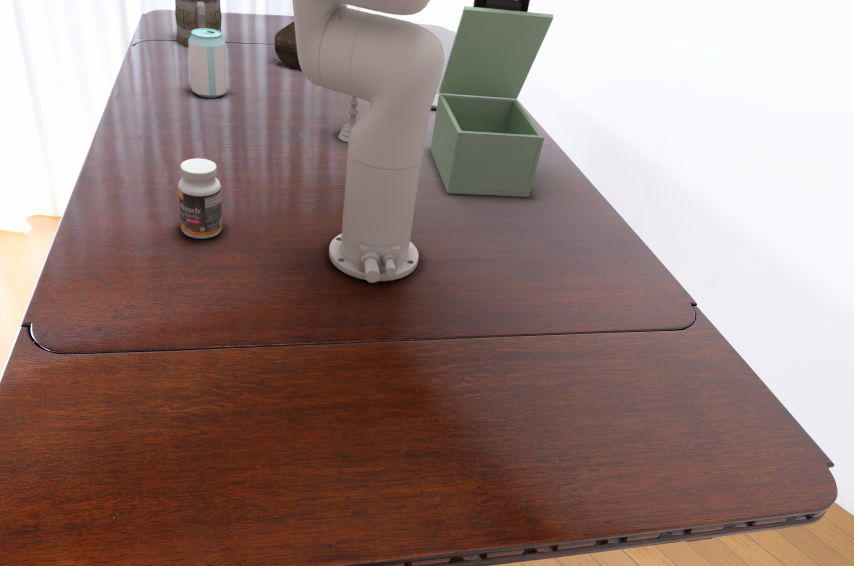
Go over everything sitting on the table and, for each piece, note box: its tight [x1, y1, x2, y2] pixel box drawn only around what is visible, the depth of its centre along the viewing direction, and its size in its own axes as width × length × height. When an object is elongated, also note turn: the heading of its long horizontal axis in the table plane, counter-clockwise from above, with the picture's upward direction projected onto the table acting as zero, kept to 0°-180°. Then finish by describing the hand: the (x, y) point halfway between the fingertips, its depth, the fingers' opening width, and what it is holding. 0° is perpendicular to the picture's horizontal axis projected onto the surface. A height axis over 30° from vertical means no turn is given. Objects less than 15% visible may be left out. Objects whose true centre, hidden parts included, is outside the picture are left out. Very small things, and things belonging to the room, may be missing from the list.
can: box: [188, 28, 228, 99], centre depth 137 cm, size 7×7×12 cm
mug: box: [174, 0, 223, 48], centre depth 162 cm, size 16×11×12 cm
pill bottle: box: [177, 157, 223, 240], centre depth 94 cm, size 6×6×10 cm
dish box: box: [429, 93, 545, 198], centre depth 120 cm, size 18×15×11 cm
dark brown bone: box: [274, 21, 301, 70], centre depth 167 cm, size 11×10×28 cm
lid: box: [438, 0, 554, 100], centre depth 116 cm, size 18×15×5 cm
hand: (498, 20), depth 113 cm, fingers closed on lid, 6 cm apart
